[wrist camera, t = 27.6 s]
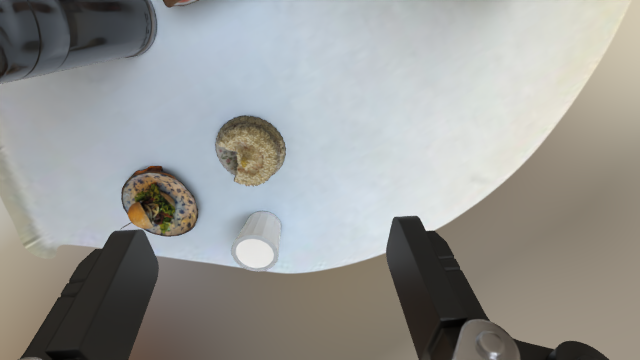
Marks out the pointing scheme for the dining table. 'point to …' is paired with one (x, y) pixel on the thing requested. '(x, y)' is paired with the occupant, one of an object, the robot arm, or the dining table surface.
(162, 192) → the burger
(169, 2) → the tin
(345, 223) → the dining table surface
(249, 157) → the cake
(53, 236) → the dining table surface
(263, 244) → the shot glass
